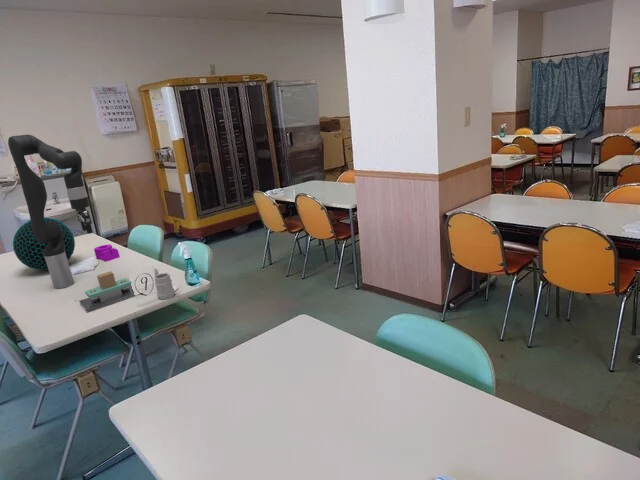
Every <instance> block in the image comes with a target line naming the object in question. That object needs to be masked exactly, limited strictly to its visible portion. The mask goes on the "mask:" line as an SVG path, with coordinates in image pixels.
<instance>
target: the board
mask: <svg viewBox="0 0 640 480" xmlns="http://www.w3.org/2000/svg"><path fill="white" fill-rule="evenodd" d="M96 278H97V281H98V285H99V286H97V287H93V288H90V289H87V290H85V296H87V298H90V299H91V298H94V297H97V296H100V295H103V294H106V293H109V292H113V291H116V290H119V289H122V288H125V287H128V286H131V283H132V281H130V280H129V279H128V278H127V277H125V278H122V279H119V280H116V279H115V274H114V273H113V271H111V270H110V271H107V272H104V273H101V274H97V275H96ZM123 280H124V282H123V283H122V281H123ZM92 290H94V291H95V292H92Z"/></svg>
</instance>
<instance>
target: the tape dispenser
mask: <svg viewBox="0 0 640 480" xmlns="http://www.w3.org/2000/svg"><path fill="white" fill-rule="evenodd" d="M93 251H94V255H95V258H96V260H99V261H100V260H101V261H103V262H104V263H105V262H106V263H107V262H110V261H112V260H115V259H116V260H117V259H119V258H120V253H119V249H118V248H115V247H113V245H112V244H102V245H98V246H96V247H94V248H93Z"/></svg>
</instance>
